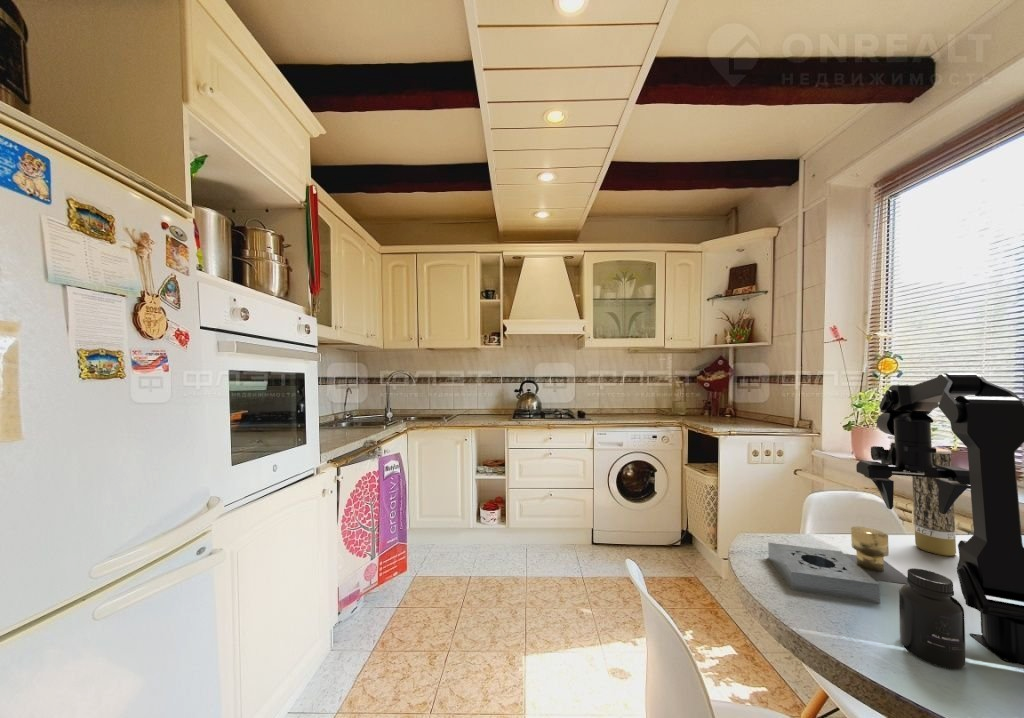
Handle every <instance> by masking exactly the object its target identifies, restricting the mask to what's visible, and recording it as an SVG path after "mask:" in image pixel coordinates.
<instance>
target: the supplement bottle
mask: <svg viewBox="0 0 1024 718" xmlns="http://www.w3.org/2000/svg"><path fill="white" fill-rule="evenodd" d="M906 577H907V582H908V583H909V584H903V585H902V586H901V587H900V588H899V590H898V604H899V605H898V606H899V607H898V609H899V610H898V612H899V618H898V619H899V640H900V643H901V645H902V647H903V648H904V649H905V650H906V651H907V652H908V653H910V654H911V655H913V656H914V657H916V658H918V659H920V660H921V661H923V662H926V663H928V664H930V665H933V666H935V667H938V668H941V669H942V668H943V669H946V670H954V671H958V670H962V669H964V668H965V666H966V629H965V628H966V627H965V624H966V622H965V610H964V607H963V606H962V604H961V603H960V602H959V601H958V600H957V599H956V598H954V596H955V590H954V581H952V579H950V578H948V577H947V576H944V575H942V574H939V573H937V572H934V571H931V570H927V569H922V568H916V567H915V568H908V569H907V576H906Z"/></svg>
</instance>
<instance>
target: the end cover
mask: <svg viewBox="0 0 1024 718" xmlns="http://www.w3.org/2000/svg"><path fill="white" fill-rule="evenodd" d="M850 533H851V534H850V535H851V541H850V542H851V547H852V548H853V549H854V550H855V552H856V555H857V565H858V566H859V567H861V568H863V569H866V570H869V571H873V572H884V561H885V559H884V558H885V557H888V556H889V555H890V554H889V553H890V552H889V535H888V534H887V533H885V532H883V531H881V530H877V529H874V528H870V527H865V526H852V527H851V528H850Z"/></svg>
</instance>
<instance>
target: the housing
mask: <svg viewBox="0 0 1024 718" xmlns="http://www.w3.org/2000/svg"><path fill="white" fill-rule="evenodd" d="M767 547H768V559H769V561H771V564H773V566H774V567H775V569H776V570H777V571H778V573H779V574H780V576H781V577H782V578H783V580H784V581H785V582H786V583H787V585H788V587H789V588H790V589H791V590H792V591H794V592H795V591H796V592H802V593H803V592H804V593H809V594H815V595H822V596H827V597H835V598H840V599H841V598H842V599H847V600H855V601H861V602H867V603H868V602H869V603H874V604H878V605H881V589H880V588H881V587H880V583H879V582H877V580H874V579H873V578H872V577H871V576H869V575H868V574H867V573H866V572H865V571H863V570H862V569H861V568H860V567H859V566H858V565H856V564H855V563H854V562H853V561H852V560H851V559H849V558H848V557H847V556H846V555H845V554H846V553H843V552H842V551H841V550H840V551H839V550H832V549H826V548H816V547H815V548H814V547H808V546H807V547H806V546H800V545H791V544H784V543H783V544H782V543H776V542H768V546H767Z"/></svg>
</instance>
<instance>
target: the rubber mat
mask: <svg viewBox="0 0 1024 718" xmlns="http://www.w3.org/2000/svg"><path fill="white" fill-rule="evenodd" d="M844 554H845V555H846V556H847V557H848V558H849V559H851V560H852V561H853V562H854V563H855V564H856V565H857V554H850V553H849V554H848V553H844ZM860 568H861V567H860ZM861 569H862V570H863V571H865V572H866V573H867V574H868V575H869V576H871V577H872V578H873V579H874V580H875V581H879V582H885V583H893V584H901V585H907V584H909V583H908V582H907V577H908V576H906V575H905V574H904V573H902V572H901V571H900V570H898V569H897V568H895V567H894V566H893V565H892V564H890V563H889V562H887V561H886V560H884V572H873V571H869V570H866V569H863V568H861Z"/></svg>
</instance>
